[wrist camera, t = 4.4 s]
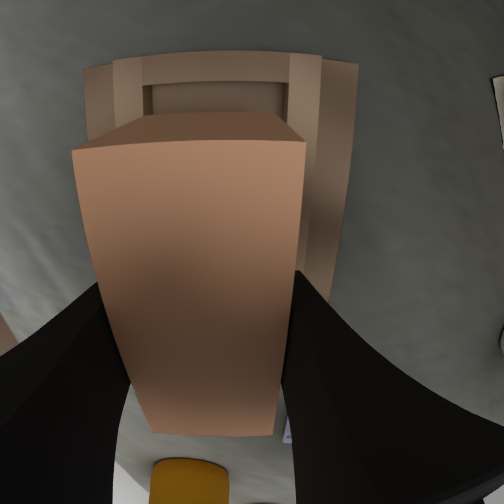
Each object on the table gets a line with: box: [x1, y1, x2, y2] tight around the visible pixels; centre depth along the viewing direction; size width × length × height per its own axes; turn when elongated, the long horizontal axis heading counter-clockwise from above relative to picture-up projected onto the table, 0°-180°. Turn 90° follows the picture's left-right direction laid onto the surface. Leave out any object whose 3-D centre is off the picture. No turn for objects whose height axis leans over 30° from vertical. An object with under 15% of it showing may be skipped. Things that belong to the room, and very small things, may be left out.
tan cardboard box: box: [72, 112, 306, 436], centre depth 9 cm, size 9×4×5 cm, turn 179°
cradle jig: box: [84, 51, 359, 303], centre depth 15 cm, size 14×12×2 cm
